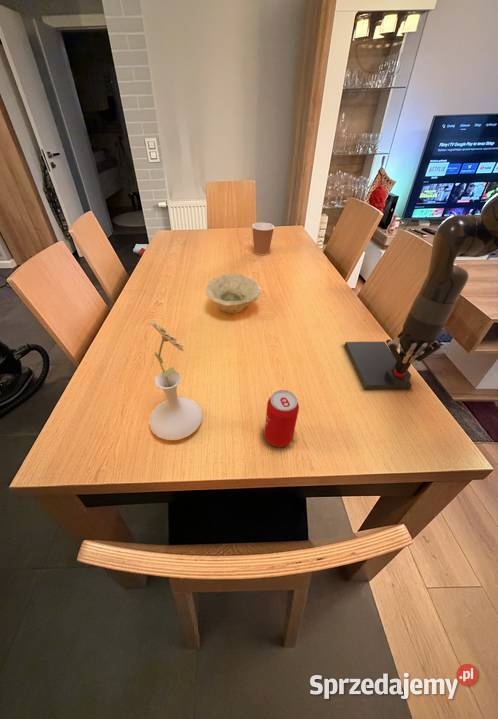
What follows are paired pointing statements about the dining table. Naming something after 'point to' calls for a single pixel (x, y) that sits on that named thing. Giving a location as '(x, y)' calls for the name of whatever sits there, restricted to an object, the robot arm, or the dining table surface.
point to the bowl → (233, 292)
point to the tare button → (399, 374)
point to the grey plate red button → (376, 366)
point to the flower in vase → (172, 401)
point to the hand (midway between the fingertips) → (399, 371)
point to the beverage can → (281, 418)
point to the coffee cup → (262, 237)
